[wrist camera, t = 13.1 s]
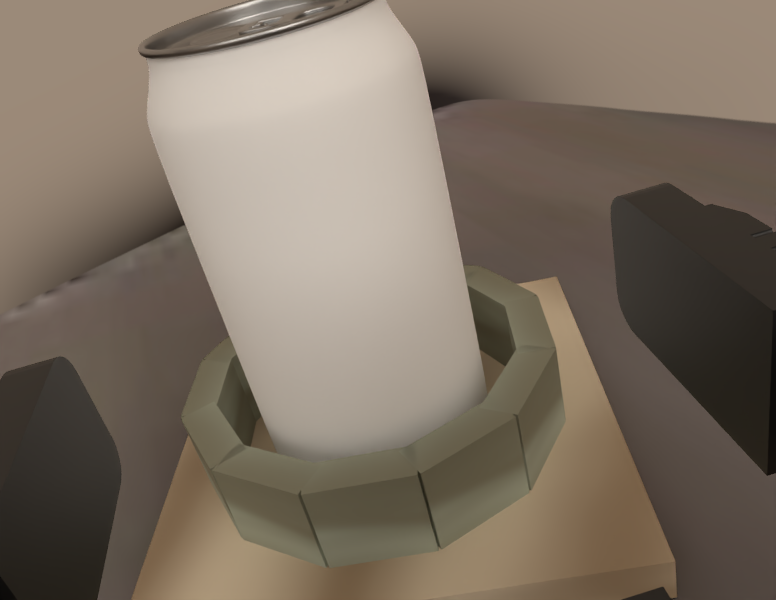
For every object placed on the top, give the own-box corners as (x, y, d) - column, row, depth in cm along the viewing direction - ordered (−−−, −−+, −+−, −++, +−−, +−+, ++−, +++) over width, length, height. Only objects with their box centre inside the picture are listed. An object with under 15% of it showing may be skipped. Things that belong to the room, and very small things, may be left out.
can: (307, 369, 26) (183, 11, 20) (494, 350, 24) (420, -43, 18) (253, 513, 20) (60, 79, 14) (488, 500, 19) (381, 9, 13)
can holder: (134, 677, 18) (68, 576, 16) (230, 367, 29) (197, 287, 28) (677, 597, 17) (671, 478, 15) (560, 303, 28) (548, 215, 26)
